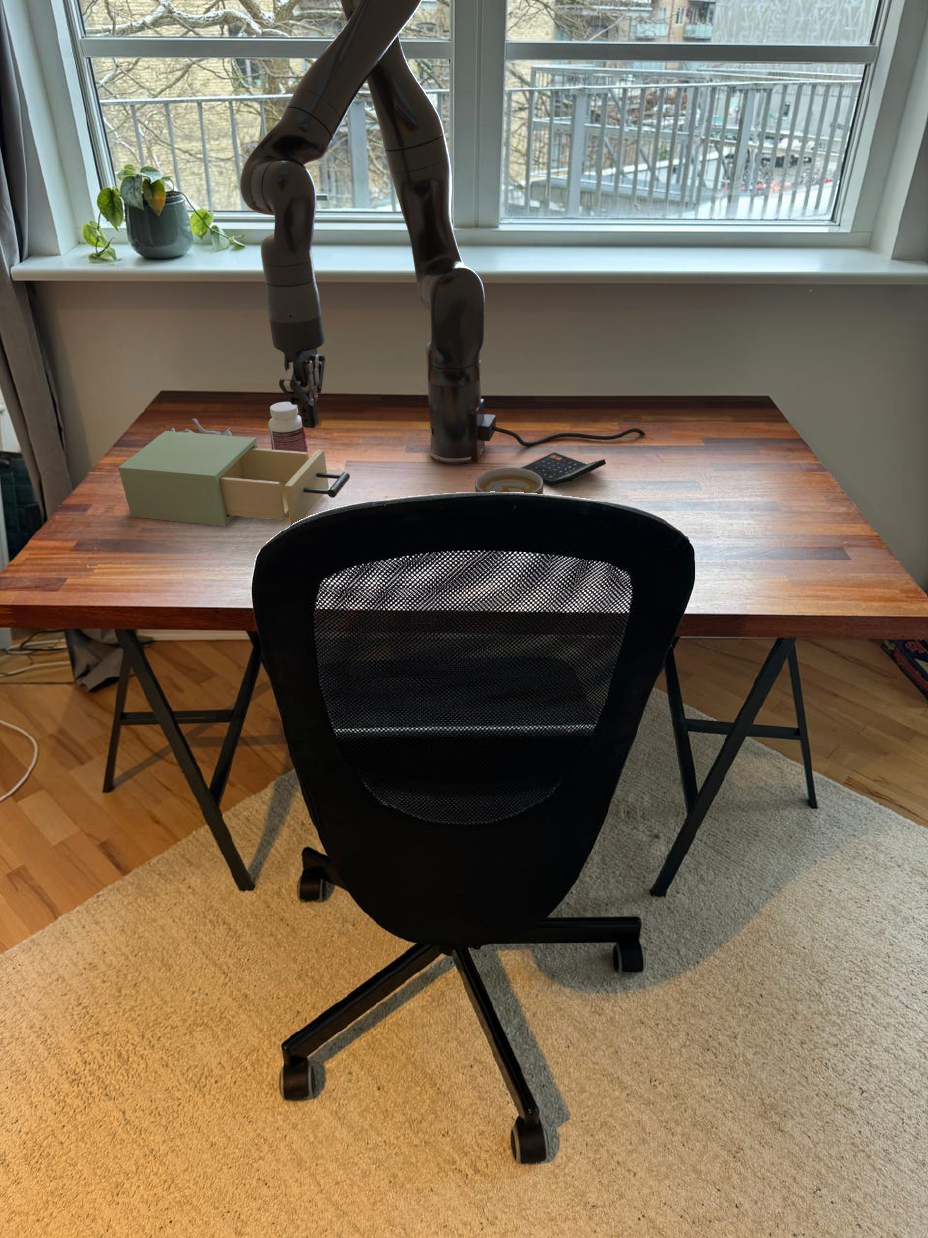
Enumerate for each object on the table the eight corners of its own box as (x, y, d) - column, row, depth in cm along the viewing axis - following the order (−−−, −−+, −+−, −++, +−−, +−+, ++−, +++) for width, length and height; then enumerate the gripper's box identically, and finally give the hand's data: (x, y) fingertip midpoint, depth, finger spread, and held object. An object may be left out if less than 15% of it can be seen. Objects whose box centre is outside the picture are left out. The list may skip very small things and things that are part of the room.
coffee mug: (547, 555, 131) (549, 494, 125) (481, 561, 130) (480, 500, 124) (530, 513, 142) (531, 455, 136) (468, 518, 141) (467, 460, 135)
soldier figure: (192, 439, 172) (243, 424, 168) (192, 462, 171) (243, 448, 167) (164, 423, 165) (217, 407, 161) (164, 447, 164) (217, 432, 160)
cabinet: (264, 485, 153) (255, 437, 148) (225, 526, 141) (215, 475, 136) (176, 477, 156) (165, 430, 151) (131, 516, 144) (117, 467, 139)
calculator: (553, 456, 159) (554, 441, 157) (605, 475, 152) (606, 459, 150) (518, 473, 154) (518, 457, 152) (570, 493, 147) (571, 477, 145)
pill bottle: (316, 464, 159) (308, 406, 153) (287, 475, 155) (278, 416, 149) (296, 454, 163) (288, 397, 156) (268, 465, 159) (258, 406, 153)
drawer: (359, 490, 148) (355, 452, 144) (330, 529, 137) (325, 489, 133) (243, 480, 152) (237, 442, 148) (206, 517, 141) (198, 477, 138)
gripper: (301, 327, 122) (317, 444, 132) (335, 300, 132) (347, 411, 142) (251, 325, 123) (271, 441, 133) (288, 299, 134) (304, 408, 144)
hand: (310, 425), depth 138 cm, fingers closed
